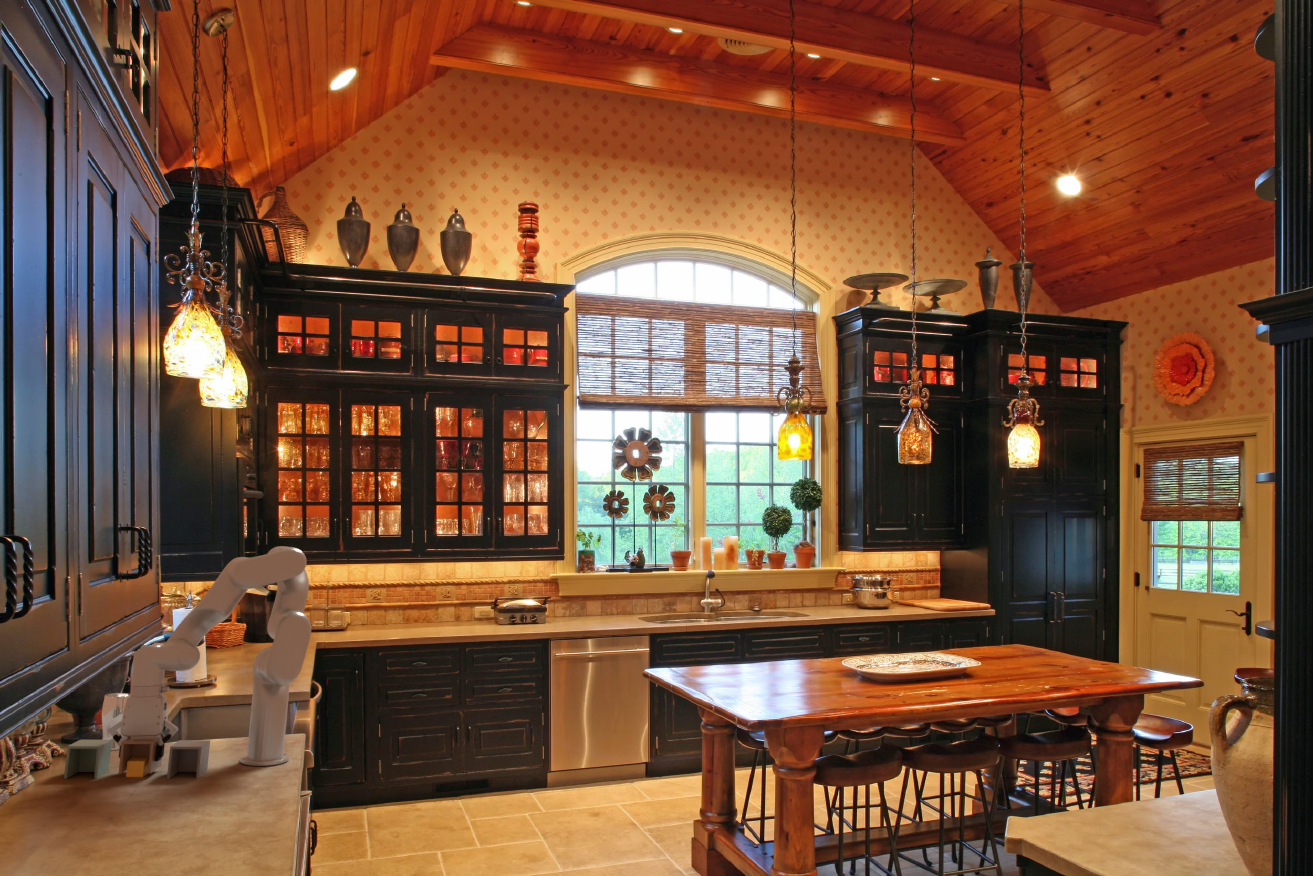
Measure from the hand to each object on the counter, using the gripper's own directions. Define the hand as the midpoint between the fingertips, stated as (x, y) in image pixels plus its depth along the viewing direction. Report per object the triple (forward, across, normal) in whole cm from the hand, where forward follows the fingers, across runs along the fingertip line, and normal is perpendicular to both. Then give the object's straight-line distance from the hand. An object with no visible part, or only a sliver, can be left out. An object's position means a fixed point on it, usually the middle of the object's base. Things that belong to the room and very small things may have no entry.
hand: (141, 760), depth 238 cm
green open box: (+3, +12, 0) cm, 13 cm away
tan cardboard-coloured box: (+2, 0, 0) cm, 2 cm away
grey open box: (+4, -12, 0) cm, 12 cm away
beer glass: (+4, +18, -30) cm, 35 cm away
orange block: (+4, 0, 0) cm, 4 cm away
